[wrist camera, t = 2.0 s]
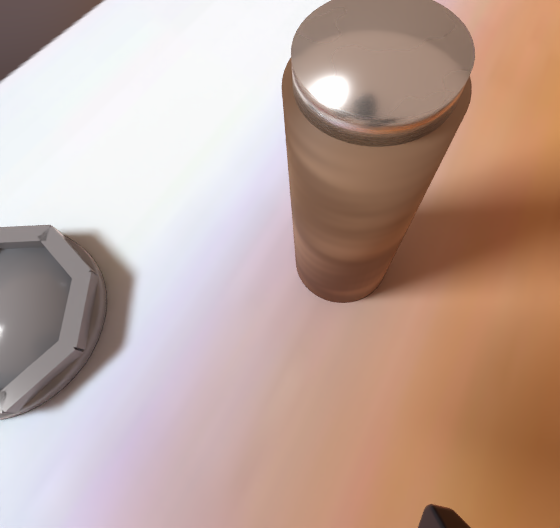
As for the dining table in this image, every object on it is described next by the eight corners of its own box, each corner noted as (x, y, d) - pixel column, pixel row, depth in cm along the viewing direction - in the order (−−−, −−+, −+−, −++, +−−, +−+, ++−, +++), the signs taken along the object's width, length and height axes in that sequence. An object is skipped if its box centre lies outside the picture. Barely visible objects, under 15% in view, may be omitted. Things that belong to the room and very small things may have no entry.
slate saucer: (144, 314, 21) (131, 306, 19) (-28, 470, 18) (-57, 474, 17) (44, 204, 24) (27, 189, 23) (-112, 322, 22) (-142, 315, 20)
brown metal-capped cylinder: (404, 257, 21) (529, 37, 9) (345, 321, 20) (400, 165, 8) (336, 205, 23) (366, -40, 11) (277, 262, 21) (237, 57, 10)
